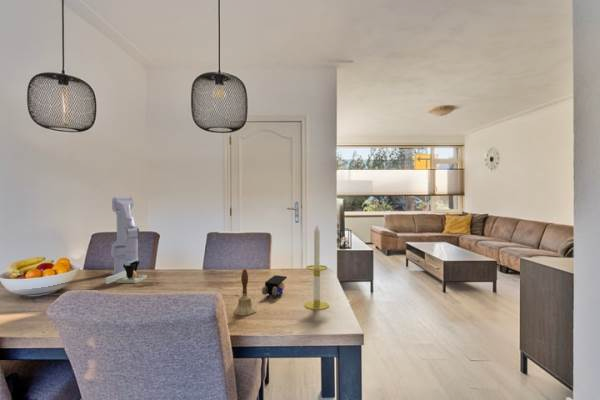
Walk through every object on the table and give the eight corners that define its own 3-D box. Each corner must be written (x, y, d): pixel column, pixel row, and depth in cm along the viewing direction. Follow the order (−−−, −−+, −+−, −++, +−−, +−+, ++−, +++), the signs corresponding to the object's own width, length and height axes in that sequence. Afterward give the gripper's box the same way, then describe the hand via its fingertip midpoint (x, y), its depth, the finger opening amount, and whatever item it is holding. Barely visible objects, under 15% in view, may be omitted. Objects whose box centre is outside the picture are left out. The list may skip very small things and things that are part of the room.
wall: (124, 276, 180) (124, 270, 180) (126, 276, 179) (126, 271, 179) (105, 283, 164) (105, 277, 164) (107, 283, 163) (107, 277, 163)
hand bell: (229, 311, 123) (229, 269, 123) (247, 306, 129) (247, 266, 129) (242, 317, 117) (241, 273, 117) (260, 311, 123) (260, 269, 123)
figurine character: (276, 304, 136) (287, 290, 151) (275, 286, 136) (287, 274, 150) (261, 302, 138) (274, 289, 153) (260, 285, 137) (273, 273, 152)
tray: (128, 277, 177) (128, 275, 177) (146, 278, 176) (146, 275, 176) (115, 282, 166) (115, 279, 166) (135, 283, 165) (135, 280, 165)
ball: (127, 278, 173) (127, 269, 173) (137, 278, 174) (138, 269, 174) (124, 280, 168) (124, 271, 168) (135, 280, 169) (135, 270, 169)
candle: (308, 311, 124) (308, 225, 124) (301, 303, 133) (301, 223, 133) (333, 308, 126) (333, 225, 126) (324, 300, 136) (324, 223, 136)
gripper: (128, 248, 177) (128, 273, 177) (118, 253, 163) (118, 280, 163) (141, 248, 179) (141, 273, 179) (133, 252, 164) (133, 279, 164)
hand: (131, 276), depth 171 cm, fingers closed on ball, 5 cm apart
